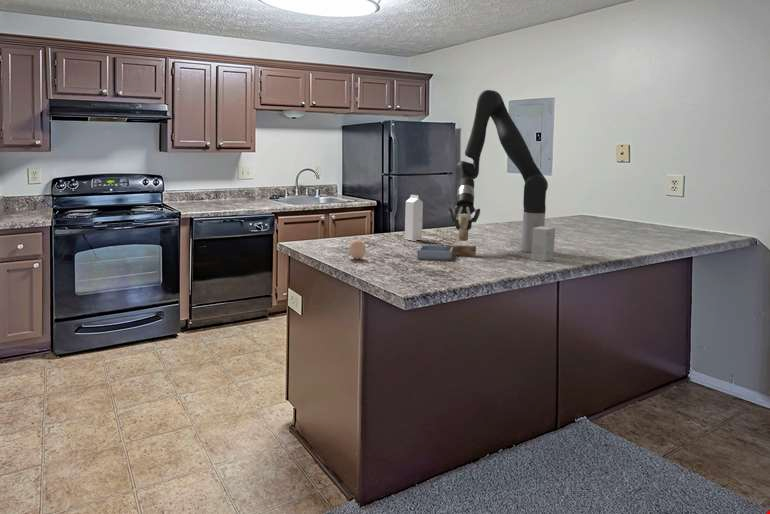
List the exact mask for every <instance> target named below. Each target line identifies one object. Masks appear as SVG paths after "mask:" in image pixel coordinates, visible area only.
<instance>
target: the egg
mask: <svg viewBox="0 0 770 514" xmlns="http://www.w3.org/2000/svg"><path fill="white" fill-rule="evenodd" d="M366 248H367V247H366V245H365V243H364V242H363V241H362V240H361V239H354V240H353V241H352V242H351V243H350V245H349V249H348V251H349V255H350V256H351V257H352V258H353V259H354V258H356V259H355V260H360V259H359V258H361V259H362V258H364V256H365V255H366V253H367V249H366Z"/></svg>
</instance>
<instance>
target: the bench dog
mask: <svg viewBox="0 0 770 514" xmlns="http://www.w3.org/2000/svg"><path fill="white" fill-rule="evenodd" d="M446 246H447V252H450V249H451V247H453V256H454V255H461V256H460V257H474V256H475V257H476V256H477V255H476V254H477V253H476V252H477V245H466V244H465V245H464V244H463V245H462V244H446Z"/></svg>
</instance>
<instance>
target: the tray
mask: <svg viewBox="0 0 770 514" xmlns="http://www.w3.org/2000/svg"><path fill="white" fill-rule="evenodd" d="M452 256H453V257H454V255H453V247H451V249H450V252H447V245H429V244H428V245H427V244H426V245H425V244H423V245H421V246H419V248H418V249H417V260H431V261H448V260H450V262H451V261H452V260H453V257H452Z"/></svg>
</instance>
